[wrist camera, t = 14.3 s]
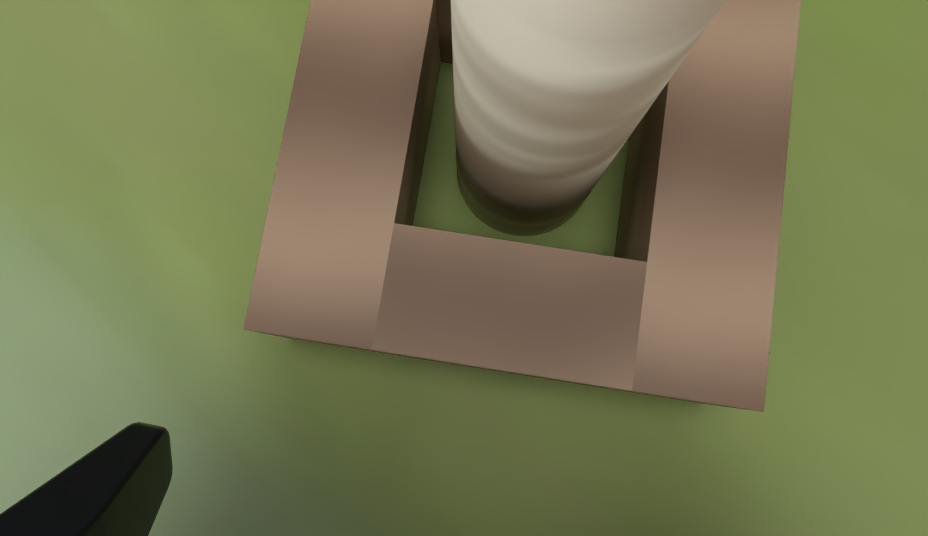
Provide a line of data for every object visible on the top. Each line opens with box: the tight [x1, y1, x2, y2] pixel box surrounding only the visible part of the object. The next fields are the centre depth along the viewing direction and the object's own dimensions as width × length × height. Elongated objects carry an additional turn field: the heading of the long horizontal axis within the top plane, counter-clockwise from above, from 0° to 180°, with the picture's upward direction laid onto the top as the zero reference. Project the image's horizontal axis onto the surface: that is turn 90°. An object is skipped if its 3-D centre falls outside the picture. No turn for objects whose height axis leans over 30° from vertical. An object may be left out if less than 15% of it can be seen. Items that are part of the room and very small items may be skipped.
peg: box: [451, 0, 725, 236], centre depth 15 cm, size 4×4×12 cm
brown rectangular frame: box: [244, 0, 801, 412], centre depth 18 cm, size 12×12×4 cm
